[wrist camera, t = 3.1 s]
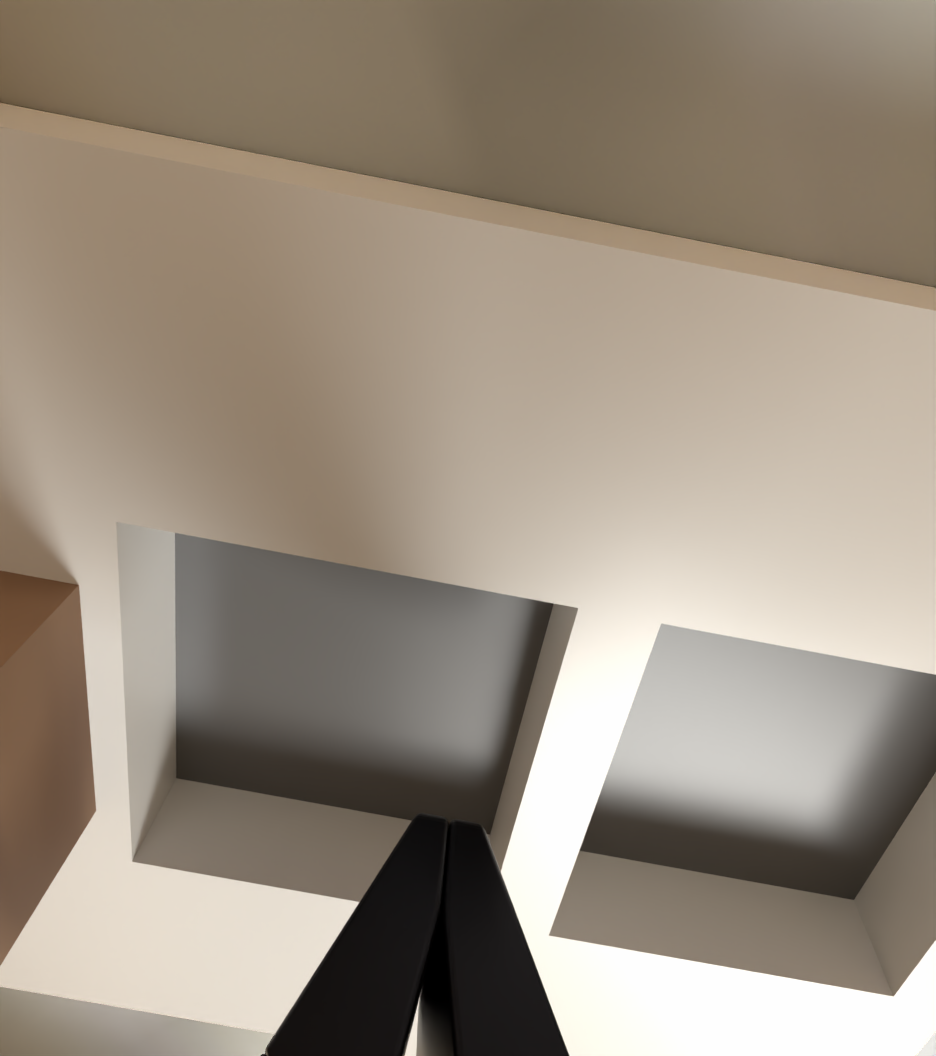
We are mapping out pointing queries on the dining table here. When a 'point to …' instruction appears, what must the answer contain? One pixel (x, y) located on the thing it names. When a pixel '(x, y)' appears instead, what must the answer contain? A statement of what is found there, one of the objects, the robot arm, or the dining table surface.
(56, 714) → the walnut block
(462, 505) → the board
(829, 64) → the dining table surface
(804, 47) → the dining table surface
